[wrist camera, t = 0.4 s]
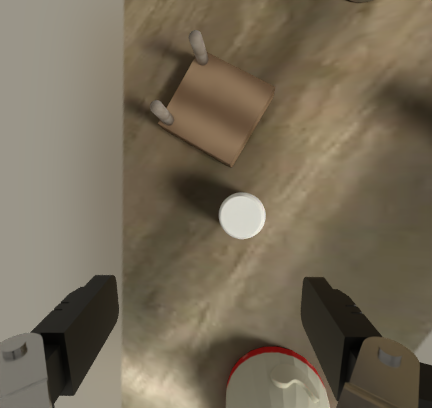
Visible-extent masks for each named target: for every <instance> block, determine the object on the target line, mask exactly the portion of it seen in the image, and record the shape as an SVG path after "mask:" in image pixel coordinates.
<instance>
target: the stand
mask: <svg viewBox="0 0 432 408" xmlns="http://www.w3.org/2000/svg"><path fill="white" fill-rule="evenodd" d="M189 41H190V43H191V46H192V49H193V51H194V54H195V58H194V60H193V62H192V64H191V65H190V67H189V69H188V71H187V72H186V74H185V76H184V78H183V80H182V81H181V83H180V85H179V87H178V88H177V90H176V92H175V94H174V96H173V97H172V99H171V101H170V103H169V104H168V106H167V108H166V107H165V106H164V105H163V104H162V103H161V102H160V101H159V100H155V101H153V102H152V103H151V104H150V110H151V111H152V112H153V113H154V114H155V115H156V116H157V117H158V118H159V119H160V121H159V122H158V124H159V125H160V126H161V127H162V128H163V129H164V130H166V131H168V132H169V133H171V134H173V135H175V136H176V137H178V138H180V139H182V140H183V141H185V142H187V143H189V144H190V145H192V146H194V147H196V148H197V149H199V150H201V151H203V152H204V153H206V154H208V155H210V156H212V157H213V158H215V159H217V160H219V161H220V162H222V163H224V164H226V165H227V166H229V167H231V168H232V167H233V165H234V163H235V161H236V160H237V158H238V156H239V155H240V153H241V151H242V149H243V148H244V146H245V144H246V143H247V141H248V139H249V138H250V136H251V134H252V132H253V131H254V129H255V127H256V126H257V124H258V122H259V120H260V119H261V117H262V115H263V114H264V112H265V110H266V108H267V107H268V105H269V103H270V102H271V100H272V98H273V96H274V91H275V87H274V86H272V85H270V84H268V83H266V82H264V81H262V80H260V79H258V78H257V77H255V76H253V75H251V74H249V73H247V72H245V71H243V70H241V69H239V68H237V67H235V66H233V65H231V64H229V63H227V62H225V61H223V60H221V59H219V58H217V57H216V56H214V55H212V54H210V53H208V52H206V48H205V45H204V42H203V38H202V35H201V33H200V32H199V31H198V30H194V31H192V32H191V33H190V34H189Z"/></svg>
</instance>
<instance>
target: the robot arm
mask: <svg viewBox="0 0 432 408" xmlns="http://www.w3.org/2000/svg"><path fill="white" fill-rule="evenodd" d="M350 1H353V2H368V1H371V0H350ZM118 314H119V304H118V294H117V284H116V278H115V276H114V275H95V276H94V277H93V278H92V279H91V280H90V281H89V282H88V283H87V284H86V285H85V286H84V287H80V288H78V289H77V290H75V291H73V292H72V293H70V294H69V295H68V296H67V297H66V298H65V299H64V300H63V301H62V302H61V304H59V305H58V306H56V307H55V308H54V311H51V312H50V314H49V315H47V316H46V317H45V318H44V319H43V320H42V322H40V323H39V324H38V325H37V326H36V328H34V329H33V330H32V331H31V332H30V333H24V334H20V335H16V336H13V337H11V338H8V339H6V340H4V341H2V342H1V343H0V408H55V406H54V403H55V401H56V400H57V398H58V397H59V396H63V395H64V396H73V395H75V393H76V391H77V389H78V388H79V386H80V384H81V383H82V381H83V379H84V377H85V376H86V374H87V372H88V370H89V369H90V367H91V365H92V364H93V362H94V360H95V359H96V357H97V355H98V353H99V352H100V350H101V348H102V347H103V345H104V343H105V341H106V340H107V338H108V336H109V334H110V333H111V331H112V329H113V328H114V326H115V324H116V322H117V319H118ZM301 320H302V324H303V327H304V329H305V331H306V334H307V336H308V338H309V340H310V343H311V345H312V347H313V349H314V351H315V354H316V356H317V358H318V360H319V363H320V365H321V367H322V369H323V372H324V374H325V376H326V378H327V381H328V383H329V385H330V387H331V389H332V392H333V394H334V396H335V398H336V401H338V404H337V407H336V408H432V365H428V364H424V363H421V362H419V360H418V359H417V357H416V356H415V355H414V353H412V352H411V351H410V350H409V349H408V348H406V347H405V346H403V345H402V344H400V343H398V342H396V341H393V340H391V339H388V338H384V337H382V336H381V334H380V333H379V332H378V331H377V330H376V328H375V327H374V326H373V325H372V324H371V322H370V321H369V320H368V319H367V318H366V316H365V315H364V314H362V312H361V310H360V309H359V308H358V307H356V304H355V303H354V302H353V301H352V300H351V298H350V297H349V296H347V295H346V294H344V293H343V292H341V291H340V290H338V289H332V287H331V286H330V285H329V283H328V282H327V281H326V279H325V278H324V277H305V278H304V280H303V288H302V301H301Z"/></svg>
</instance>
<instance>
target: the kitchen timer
mask: <svg viewBox="0 0 432 408" xmlns="http://www.w3.org/2000/svg"><path fill="white" fill-rule="evenodd" d="M226 408H330V405H329V401H328V397H327V393H326V389H325V387H324V384H323V382H322V380H321V378H320V376H319V375H318V373H317V371H316V369H315V368H314V367H313V366H312V365H311V364H310V363H309V362H308V361H307V360H306V359H305V358H304V357H302V356H301V355H299V354H297V353H295V352H294V351H292V350H289V349H285V348H281V347H261V348H258V349H255V350H252V351H250V352H249V353H247V354H246V355H244V356H243V357H241V358H240V359H239V360H238V362H237V363H236V364H235V366H234V367H233V368H232V371H231V373H230V376H229V379H228V382H227V390H226Z"/></svg>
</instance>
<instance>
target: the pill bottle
mask: <svg viewBox="0 0 432 408" xmlns="http://www.w3.org/2000/svg"><path fill="white" fill-rule="evenodd" d="M265 217H266V214H265V209H264V206H263V204H262V203H261V201H260V200H259V199H258V198H257V197H255V196H254V195H252V194H249V193H244V192H240V193H235V194H232V195H230V196H229V197H227V198H226V199H225V200H224V201H223V203H222V205H221V207H220V210H219V221H220V224H221V226H222V228H223V230H224V231H225V232H226V233H227V234H228V235H230V236H232V237H234V238H237V239H247V238H251V237H253V236H255V235H256V234H257V233H258V232H259V231H260V230H261V229H262V227H263V225H264V223H265Z"/></svg>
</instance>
